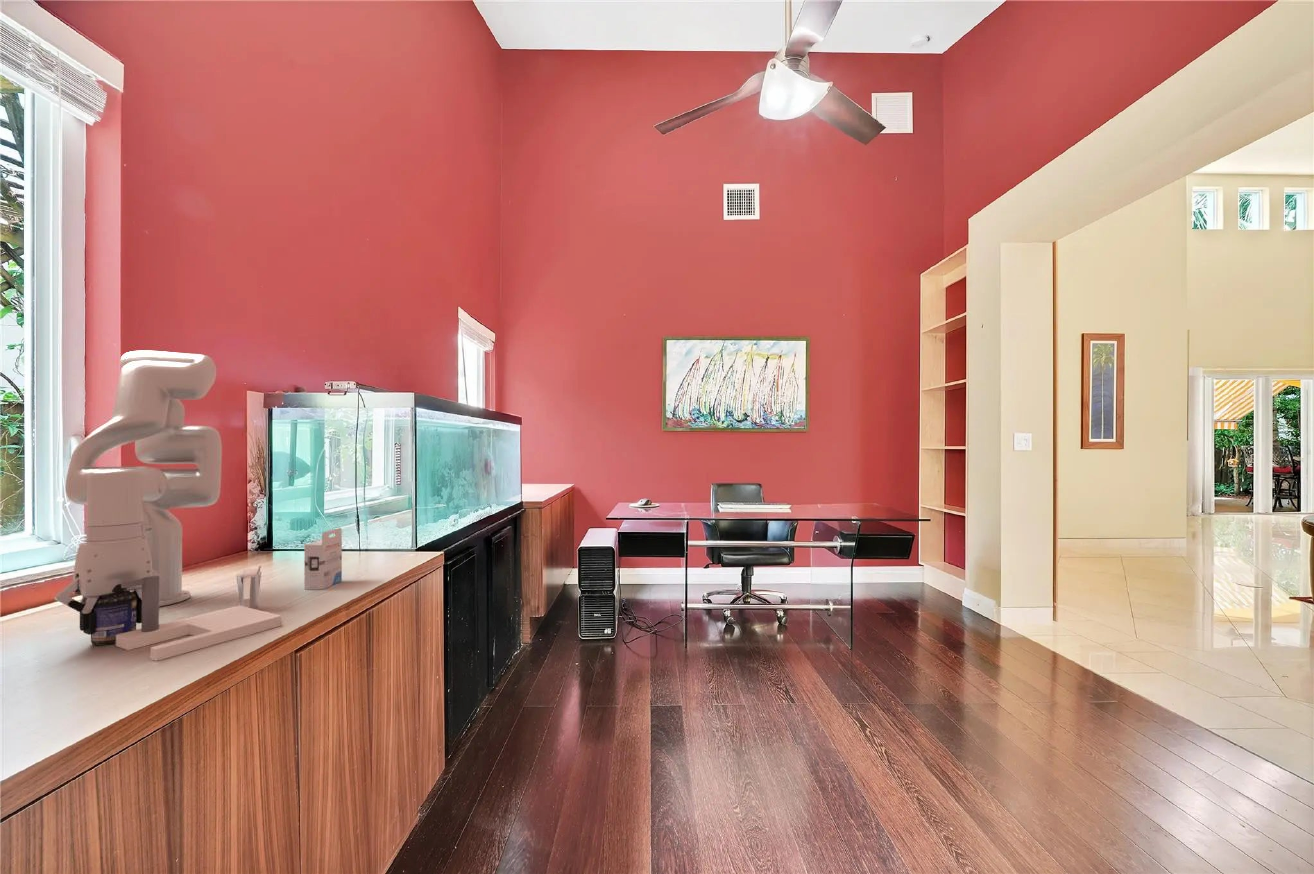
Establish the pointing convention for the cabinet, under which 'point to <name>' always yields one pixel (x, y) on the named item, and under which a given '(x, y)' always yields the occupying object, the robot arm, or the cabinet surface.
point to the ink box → (323, 561)
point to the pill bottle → (114, 615)
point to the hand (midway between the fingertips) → (114, 626)
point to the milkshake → (249, 587)
